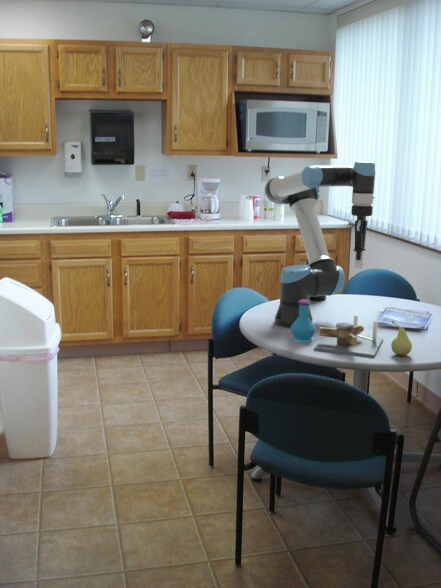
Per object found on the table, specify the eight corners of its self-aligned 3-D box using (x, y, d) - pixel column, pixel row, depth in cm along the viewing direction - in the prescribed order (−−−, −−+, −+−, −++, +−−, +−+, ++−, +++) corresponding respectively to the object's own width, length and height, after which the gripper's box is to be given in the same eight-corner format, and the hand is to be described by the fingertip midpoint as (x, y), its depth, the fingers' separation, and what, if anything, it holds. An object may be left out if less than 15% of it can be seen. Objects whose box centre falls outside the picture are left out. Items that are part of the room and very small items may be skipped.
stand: (314, 349, 242) (315, 325, 240) (327, 334, 261) (328, 311, 259) (373, 357, 234) (375, 332, 232) (382, 340, 253) (384, 317, 251)
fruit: (409, 359, 233) (412, 325, 230) (387, 356, 236) (390, 323, 233) (412, 353, 239) (414, 321, 236) (390, 351, 242) (392, 318, 239)
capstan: (354, 351, 236) (355, 332, 234) (317, 340, 247) (318, 322, 246) (380, 342, 247) (381, 324, 245) (344, 332, 258) (345, 315, 256)
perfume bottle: (285, 339, 254) (286, 300, 250) (300, 334, 260) (302, 296, 256) (304, 344, 247) (306, 305, 244) (320, 339, 254) (322, 300, 250)
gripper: (369, 207, 240) (365, 272, 245) (375, 203, 251) (371, 266, 257) (348, 205, 242) (344, 270, 248) (355, 202, 254) (351, 264, 260)
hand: (358, 268), depth 252 cm, fingers closed
